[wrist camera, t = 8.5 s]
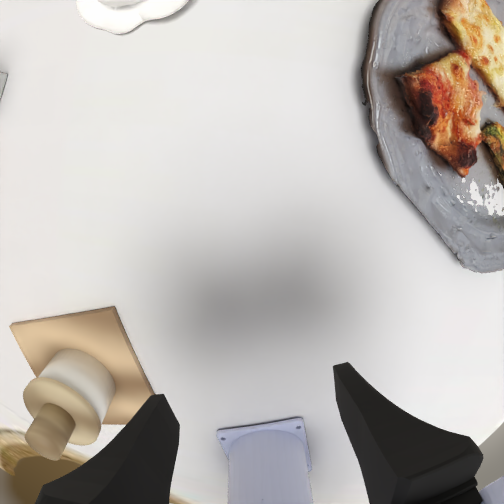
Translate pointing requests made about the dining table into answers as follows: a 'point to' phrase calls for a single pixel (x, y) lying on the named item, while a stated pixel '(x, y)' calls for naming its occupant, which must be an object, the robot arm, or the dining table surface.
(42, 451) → the lid
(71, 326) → the square wooden coaster
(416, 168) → the food plate
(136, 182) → the dining table surface
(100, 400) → the jar
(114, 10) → the rose
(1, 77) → the skincare box
